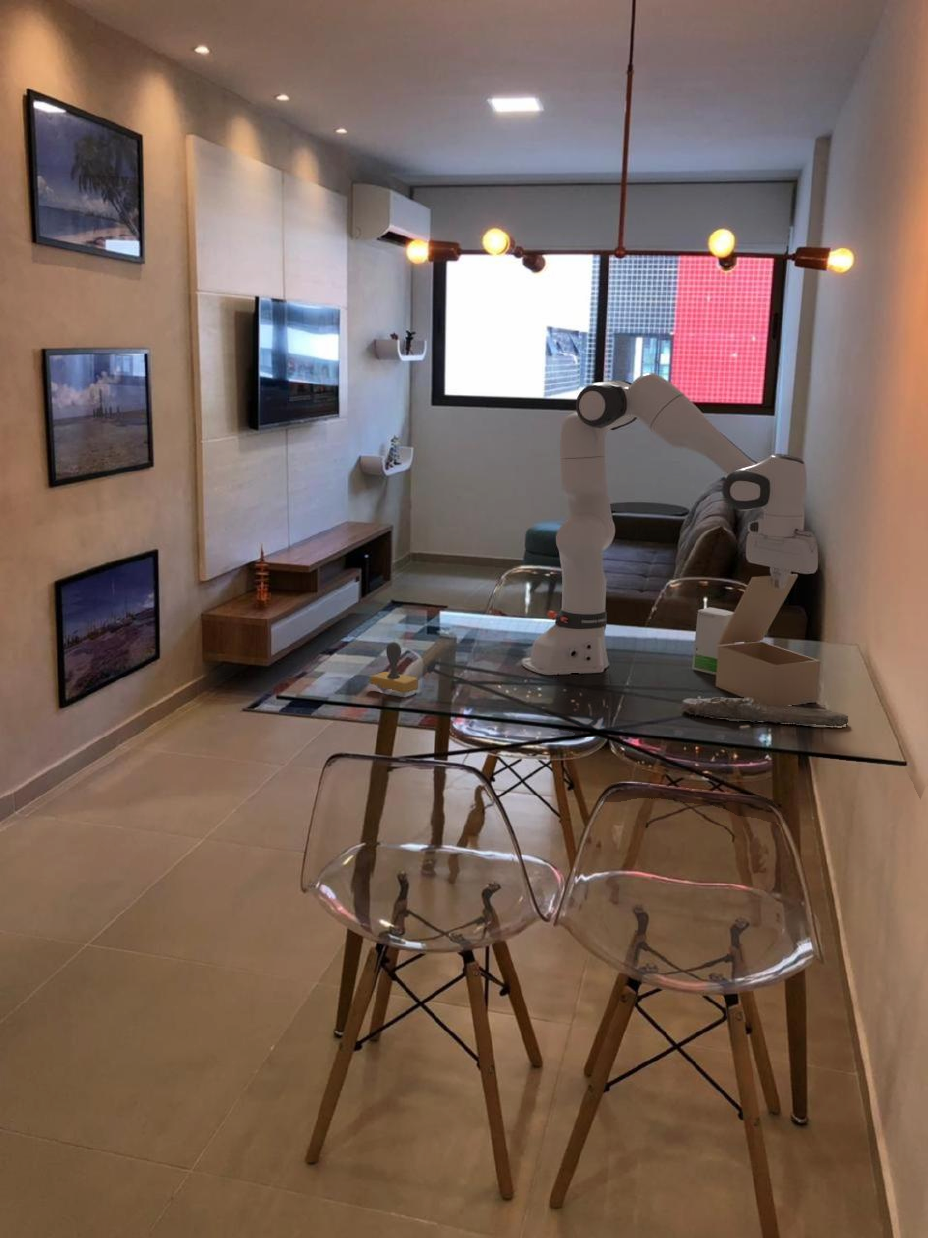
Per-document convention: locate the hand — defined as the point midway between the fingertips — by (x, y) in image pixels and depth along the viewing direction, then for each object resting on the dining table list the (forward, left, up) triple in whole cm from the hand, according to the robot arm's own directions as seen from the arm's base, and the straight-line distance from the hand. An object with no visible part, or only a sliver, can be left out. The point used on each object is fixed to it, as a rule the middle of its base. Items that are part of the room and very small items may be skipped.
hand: (779, 587), depth 243 cm
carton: (0, +2, -26) cm, 26 cm away
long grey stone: (-13, -13, -27) cm, 32 cm away
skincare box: (+2, +24, -26) cm, 36 cm away
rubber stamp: (-80, +36, -26) cm, 91 cm away
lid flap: (0, +7, -7) cm, 9 cm away
